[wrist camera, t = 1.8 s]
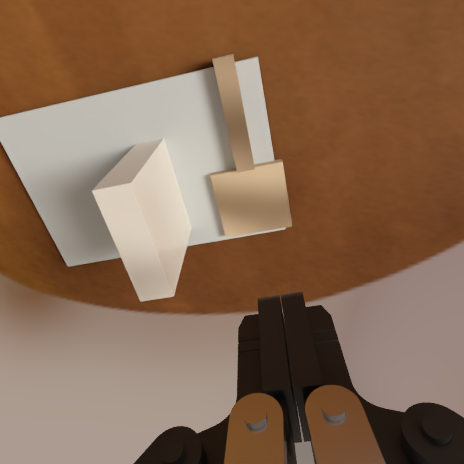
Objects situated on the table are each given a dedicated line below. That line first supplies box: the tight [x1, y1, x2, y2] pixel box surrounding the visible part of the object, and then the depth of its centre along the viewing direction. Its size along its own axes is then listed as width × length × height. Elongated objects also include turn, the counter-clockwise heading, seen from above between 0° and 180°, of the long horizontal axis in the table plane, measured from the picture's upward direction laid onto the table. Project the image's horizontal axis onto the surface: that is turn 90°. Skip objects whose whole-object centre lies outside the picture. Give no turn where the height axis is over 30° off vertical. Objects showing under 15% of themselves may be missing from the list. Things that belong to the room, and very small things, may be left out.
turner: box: [210, 53, 292, 238], centre depth 23 cm, size 12×5×1 cm, turn 12°
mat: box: [0, 57, 285, 267], centre depth 25 cm, size 12×18×1 cm, turn 102°
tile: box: [92, 138, 191, 301], centre depth 22 cm, size 7×2×8 cm, turn 12°
